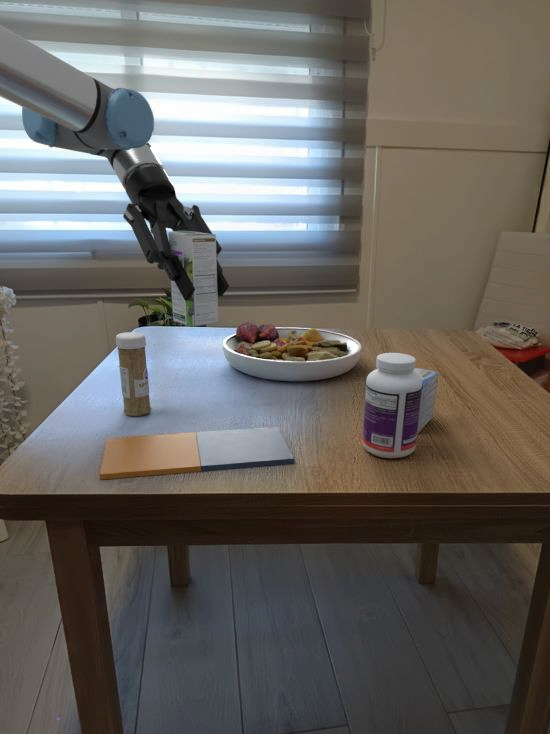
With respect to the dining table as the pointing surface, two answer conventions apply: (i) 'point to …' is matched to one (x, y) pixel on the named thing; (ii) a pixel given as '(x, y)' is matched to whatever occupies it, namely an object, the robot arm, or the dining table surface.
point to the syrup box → (195, 277)
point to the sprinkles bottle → (133, 373)
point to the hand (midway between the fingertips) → (207, 292)
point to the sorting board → (193, 452)
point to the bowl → (290, 352)
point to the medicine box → (426, 396)
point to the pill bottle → (392, 406)
